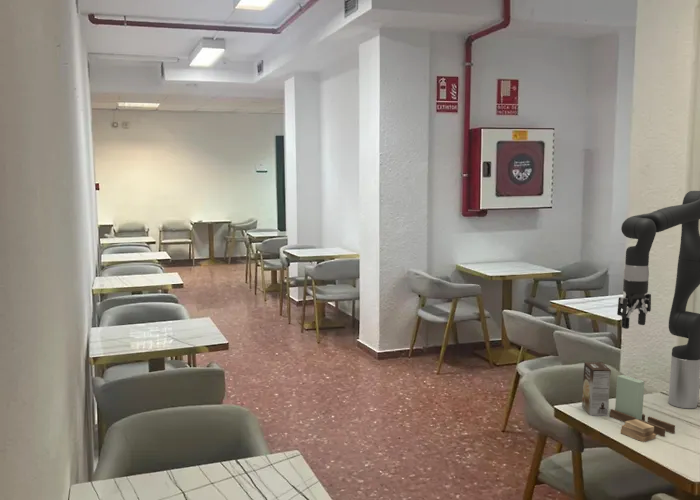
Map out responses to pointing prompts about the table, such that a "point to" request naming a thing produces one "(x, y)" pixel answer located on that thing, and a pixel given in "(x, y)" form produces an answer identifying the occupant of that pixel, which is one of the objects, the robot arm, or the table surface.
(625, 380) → the pale green block
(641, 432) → the offcut stack
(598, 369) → the coffee box
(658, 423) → the rack
